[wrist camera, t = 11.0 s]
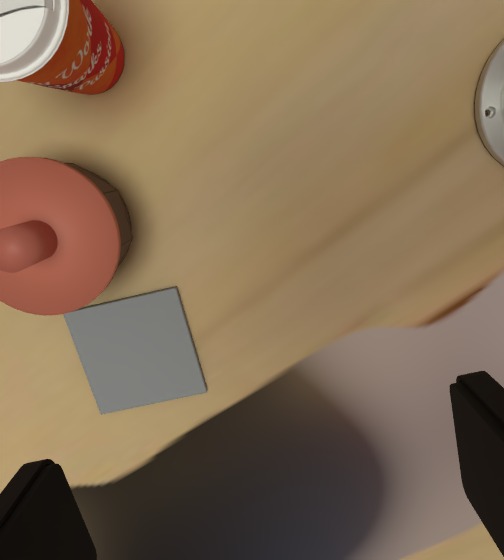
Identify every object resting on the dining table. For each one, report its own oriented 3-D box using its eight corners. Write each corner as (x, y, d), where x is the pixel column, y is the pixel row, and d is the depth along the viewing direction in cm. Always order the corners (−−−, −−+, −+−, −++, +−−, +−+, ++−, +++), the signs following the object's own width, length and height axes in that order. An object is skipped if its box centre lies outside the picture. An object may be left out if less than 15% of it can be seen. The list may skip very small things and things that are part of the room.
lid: (90, 139, 31) (61, 135, 27) (140, 293, 35) (122, 314, 30) (-62, 179, 32) (-115, 182, 28) (0, 326, 35) (-39, 351, 31)
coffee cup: (82, 129, 37) (-31, 110, 23) (16, 40, 35) (-152, -42, 21) (160, 69, 36) (93, 7, 21) (96, -27, 34) (-24, -165, 19)
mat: (176, 286, 41) (175, 288, 40) (207, 389, 43) (206, 392, 43) (65, 311, 41) (63, 313, 41) (102, 411, 44) (100, 414, 44)
